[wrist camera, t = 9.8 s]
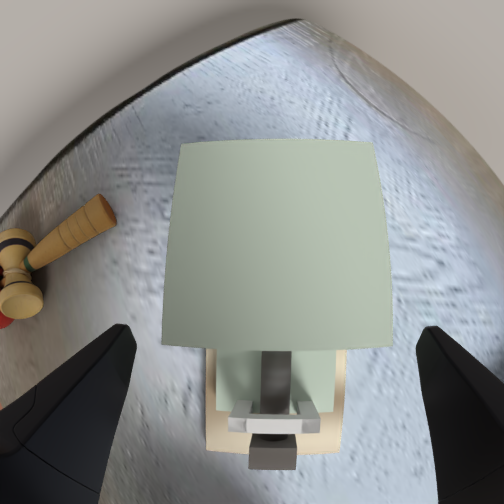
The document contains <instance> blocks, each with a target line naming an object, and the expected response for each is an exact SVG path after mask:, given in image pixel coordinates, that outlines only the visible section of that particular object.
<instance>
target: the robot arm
mask: <svg viewBox="0 0 504 504" xmlns="http://www.w3.org/2000/svg"><path fill="white" fill-rule="evenodd" d="M136 349H137V344H136V341H135V338H134V336H133V334H132V332H131V329H130V327H129V326H128V325H126V324H115V325H113V326H112V327H111V328H109V329H108V330H107V331H105V332H104V333H103V334H101V335H100V336H99V337H97V338H96V339H95V340H93V341H92V342H91V343H89V344H88V345H87V346H85V347H84V348H83V349H81V350H80V351H79V352H78V353H76V354H75V355H74V356H72V357H71V358H70V359H68V360H67V361H66V362H65V363H63V364H62V365H61V366H59V367H58V368H57V369H55V370H54V371H53V372H52V373H50V374H49V375H48V376H47V377H45V378H44V379H43V380H41V381H40V382H39V383H38V384H37V385H35V386H34V387H32V388H31V389H30V390H29V391H27V392H26V393H25V394H23V395H22V396H21V397H19V398H18V399H17V400H15V401H14V402H12V403H11V404H9V405H8V406H7V407H5V408H3V409H2V410H0V504H98V502H99V497H100V491H101V487H102V483H103V478H104V474H105V470H106V466H107V462H108V458H109V454H110V450H111V446H112V443H113V439H114V435H115V432H116V428H117V425H118V421H119V418H120V415H121V411H122V408H123V405H124V401H125V398H126V395H127V391H128V387H129V383H130V378H131V373H132V368H133V363H134V359H135V354H136ZM416 356H417V363H418V369H419V376H420V384H421V391H422V397H423V401H424V406H425V411H426V416H427V421H428V426H429V431H430V437H431V443H432V449H433V456H434V464H435V472H436V481H437V491H438V501H439V502H438V504H504V384H503V383H502V382H501V381H500V380H499V379H498V378H497V377H496V376H495V375H494V374H493V373H492V372H490V371H489V370H488V369H487V368H486V367H485V366H484V365H483V364H481V363H480V362H479V361H478V360H477V359H476V358H475V357H474V356H472V355H471V354H470V353H469V352H468V351H467V350H465V349H464V348H463V347H462V346H461V345H460V344H458V343H457V342H456V341H455V340H454V339H453V338H451V337H450V336H449V335H448V334H447V333H445V332H444V331H443V330H442V329H441V328H439V327H438V326H427V327H425V328H424V329H423V331H422V334H421V336H420V338H419V340H418V342H417V345H416Z"/></svg>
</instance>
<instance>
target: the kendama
mask: <svg viewBox="0 0 504 504" xmlns="http://www.w3.org/2000/svg"><path fill="white" fill-rule="evenodd" d="M116 224H117V222H116V218H115V216H114V213H113V211H112V209H111V207H110V205H109V204H108V202H107V201H106V199H105V198H104V197H103V196H102V195H101V194H97V195H96V196H95V197H93V198H92V199H91V200H90V201H88V202H87V203H86V204H85V206H82V207H81V208H80V209H78V210H77V211H76V212H75V213H73V214H72V215H71V216H70V217H68V219H66V220H65V221H63V222H62V223H61V224H60V225H59V226H57V227H56V228H55V229H54V230H52V231H51V232H50V233H49V234H48V235H47V236H46V237H44V238H43V239H42V240H41V241H40V242H39V243H38V244H37V245H36V243H35V239H34V237H33V236H32V234H31V233H29V232H28V231H26V230H23V229H19V228H13V229H8V230H5V231H3V232H1V233H0V329H2V328H5V327H7V326H8V325H10V324H11V323H12V322H13V321H14V319H25V318H29V317H32V316H34V315H36V314H37V313H38V312H39V311H40V310H41V309H42V307H43V303H44V302H43V296H42V292H41V290H40V289H39V288H38V287H37V286H35V285H34V284H33V283H32V282H31V279H32V278H31V276H30V273H31V272H33V271H35V270H37V269H39V268H41V267H43V266H45V265H47V264H49V263H50V262H52V261H54V260H56V259H58V258H59V257H61V256H63V255H64V254H66V253H68V252H69V251H71V250H72V249H74V248H76V247H78V246H79V245H81V244H82V243H84V242H86V241H88V240H89V239H90V238H93V237H95V236H97V235H98V234H99V233H102V232H104V231H106V230H108V229H110V228H112V227H114V226H115V225H116Z"/></svg>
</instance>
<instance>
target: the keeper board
mask: <svg viewBox="0 0 504 504" xmlns="http://www.w3.org/2000/svg"><path fill="white" fill-rule="evenodd" d="M346 353H347V350H336V372H335V392H334V407H333V412H323V413H318V414H319V416H320V418H321V423H320V433H309V434H259V433H240V432H228V417H229V415H230V413H231V412H230V411H218V410H216V366H217V349H207V348H206V450H208V451H217V452H227V453H239V454H249V469H259V470H296V458H297V455H310V454H327V453H339V450H340V442H341V432H342V422H343V410H344V396H345V379H346ZM291 358H292V351H262V356H261V395H260V413H252V414H271V415H297V413H289V412H290V389H291Z"/></svg>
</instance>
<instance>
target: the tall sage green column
mask: <svg viewBox="0 0 504 504" xmlns="http://www.w3.org/2000/svg"><path fill="white" fill-rule="evenodd" d="M162 345H171V346H182V347H194V348H207V349H217V366H216V410H218V411H230V412H231V413H230V415H229V417H228V432H240V433H259V434H309V433H320V423H321V418H320V416H319V414H318V413H323V412H333V407H334V392H335V372H336V350H349V349H365V348H378V347H390V346H393V305H392V280H391V265H390V252H389V242H388V232H387V224H386V216H385V208H384V201H383V195H382V189H381V183H380V177H379V171H378V166H377V161H376V156H375V151H374V146H373V143H371V142H358V141H343V140H322V139H245V140H224V141H208V142H196V143H185V144H181V148H180V154H179V160H178V166H177V173H176V179H175V186H174V194H173V201H172V209H171V217H170V226H169V235H168V245H167V256H166V268H165V281H164V296H163V316H162ZM262 351H292V358H291V389H290V412H289V413H297V415H271V414H252V413H260V395H261V356H262Z"/></svg>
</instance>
